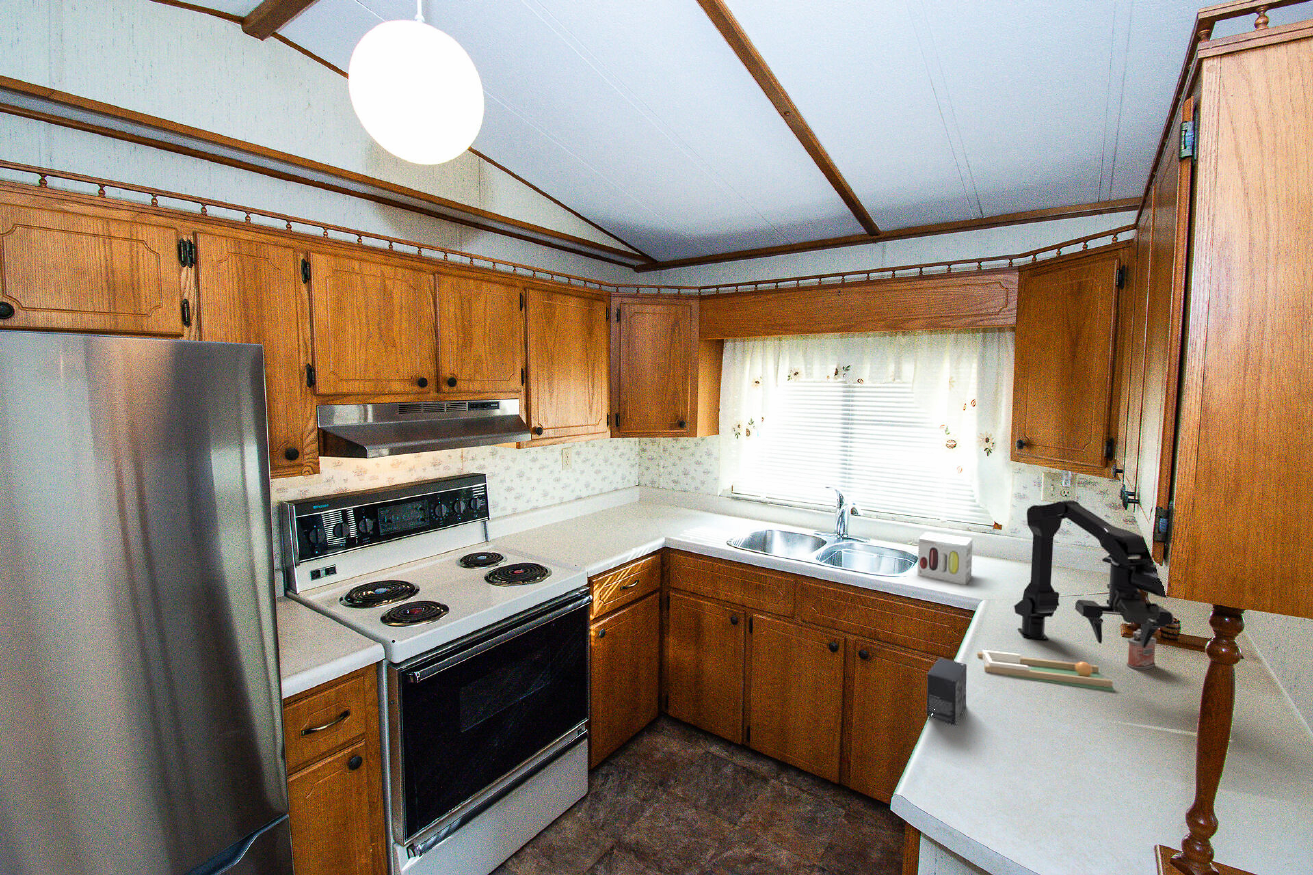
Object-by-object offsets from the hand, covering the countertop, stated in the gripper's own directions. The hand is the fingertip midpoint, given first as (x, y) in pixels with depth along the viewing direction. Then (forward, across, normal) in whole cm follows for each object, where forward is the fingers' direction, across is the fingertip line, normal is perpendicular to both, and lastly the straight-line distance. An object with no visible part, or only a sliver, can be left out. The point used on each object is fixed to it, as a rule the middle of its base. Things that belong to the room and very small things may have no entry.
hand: (1121, 644), depth 146 cm
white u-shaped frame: (+9, -25, 0) cm, 27 cm away
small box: (+10, -44, -27) cm, 53 cm away
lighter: (+10, +10, +13) cm, 19 cm away
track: (+10, -17, 0) cm, 20 cm away
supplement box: (+10, -28, +75) cm, 81 cm away
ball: (+8, -8, +1) cm, 11 cm away
